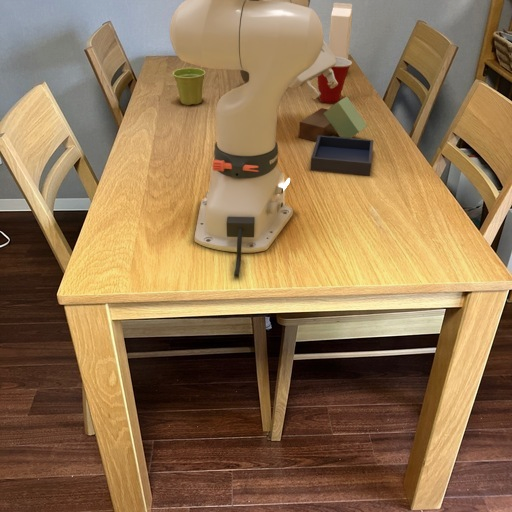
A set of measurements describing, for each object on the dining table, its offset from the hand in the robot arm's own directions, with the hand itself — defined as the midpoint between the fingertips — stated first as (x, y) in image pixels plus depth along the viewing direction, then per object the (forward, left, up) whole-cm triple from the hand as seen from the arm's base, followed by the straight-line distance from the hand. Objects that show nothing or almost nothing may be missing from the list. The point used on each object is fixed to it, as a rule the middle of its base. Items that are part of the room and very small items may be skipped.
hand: (326, 91), depth 138 cm
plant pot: (+15, +41, -11) cm, 45 cm away
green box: (-2, -6, -11) cm, 12 cm away
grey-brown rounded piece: (+32, +23, -11) cm, 41 cm away
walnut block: (0, 0, -11) cm, 11 cm away
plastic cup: (+26, +1, -11) cm, 28 cm away
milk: (+53, +1, -11) cm, 54 cm away
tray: (-16, -6, -11) cm, 20 cm away
